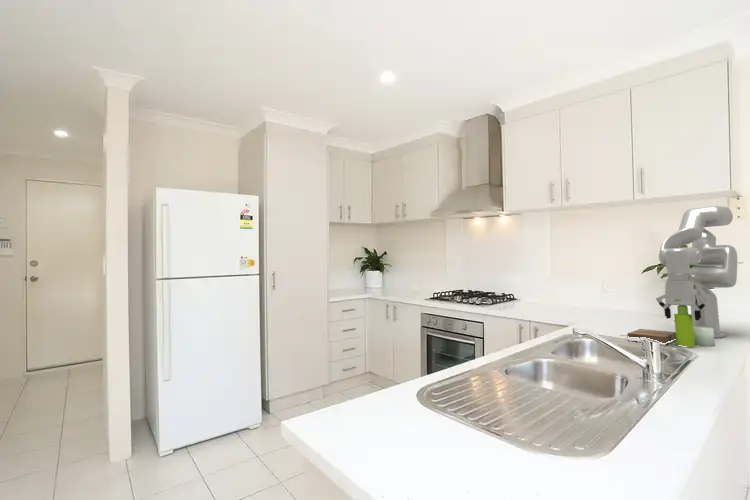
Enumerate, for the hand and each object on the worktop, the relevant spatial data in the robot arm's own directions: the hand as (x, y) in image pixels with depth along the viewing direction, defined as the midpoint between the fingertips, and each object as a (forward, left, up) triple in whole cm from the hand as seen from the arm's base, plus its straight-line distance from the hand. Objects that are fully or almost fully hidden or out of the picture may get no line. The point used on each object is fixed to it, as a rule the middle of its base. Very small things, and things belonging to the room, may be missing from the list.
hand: (682, 319), depth 157 cm
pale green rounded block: (-8, +4, -11) cm, 14 cm away
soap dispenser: (0, 0, -12) cm, 12 cm away
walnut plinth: (-4, -13, -11) cm, 18 cm away
